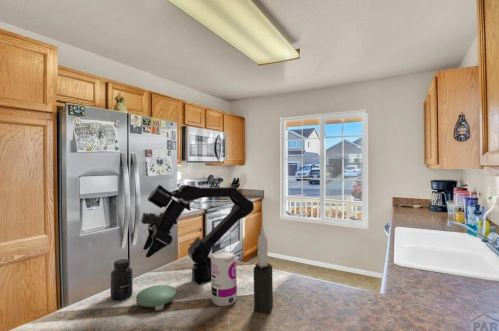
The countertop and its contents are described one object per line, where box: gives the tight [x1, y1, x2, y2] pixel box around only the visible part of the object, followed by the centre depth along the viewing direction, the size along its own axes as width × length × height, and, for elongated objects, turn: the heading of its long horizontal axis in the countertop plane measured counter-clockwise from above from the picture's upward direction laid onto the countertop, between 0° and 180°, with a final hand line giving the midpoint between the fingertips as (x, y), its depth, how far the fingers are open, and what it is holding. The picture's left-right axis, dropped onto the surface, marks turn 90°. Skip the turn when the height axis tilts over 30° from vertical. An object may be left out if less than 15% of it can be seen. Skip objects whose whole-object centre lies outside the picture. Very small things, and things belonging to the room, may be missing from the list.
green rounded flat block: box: [135, 284, 177, 311], centre depth 86 cm, size 12×12×3 cm
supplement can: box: [210, 250, 238, 307], centre depth 86 cm, size 8×8×15 cm
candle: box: [253, 226, 274, 315], centre depth 81 cm, size 5×5×25 cm
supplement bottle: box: [110, 258, 134, 302], centre depth 90 cm, size 7×7×12 cm
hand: (145, 253), depth 93 cm, fingers open, 9 cm apart
